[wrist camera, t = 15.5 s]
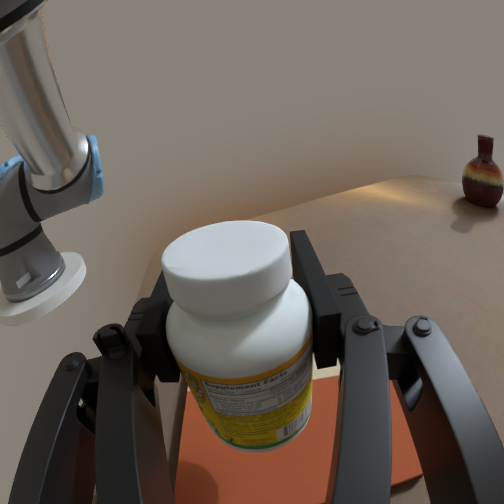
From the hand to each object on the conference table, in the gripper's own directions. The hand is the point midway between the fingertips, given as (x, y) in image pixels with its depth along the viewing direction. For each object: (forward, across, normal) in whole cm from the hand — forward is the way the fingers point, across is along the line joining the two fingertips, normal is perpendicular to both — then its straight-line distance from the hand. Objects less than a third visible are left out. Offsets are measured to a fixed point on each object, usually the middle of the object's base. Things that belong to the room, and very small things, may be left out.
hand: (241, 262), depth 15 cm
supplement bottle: (-5, 0, -6) cm, 8 cm away
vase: (+34, +53, -12) cm, 64 cm away
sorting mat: (0, +2, -12) cm, 12 cm away
